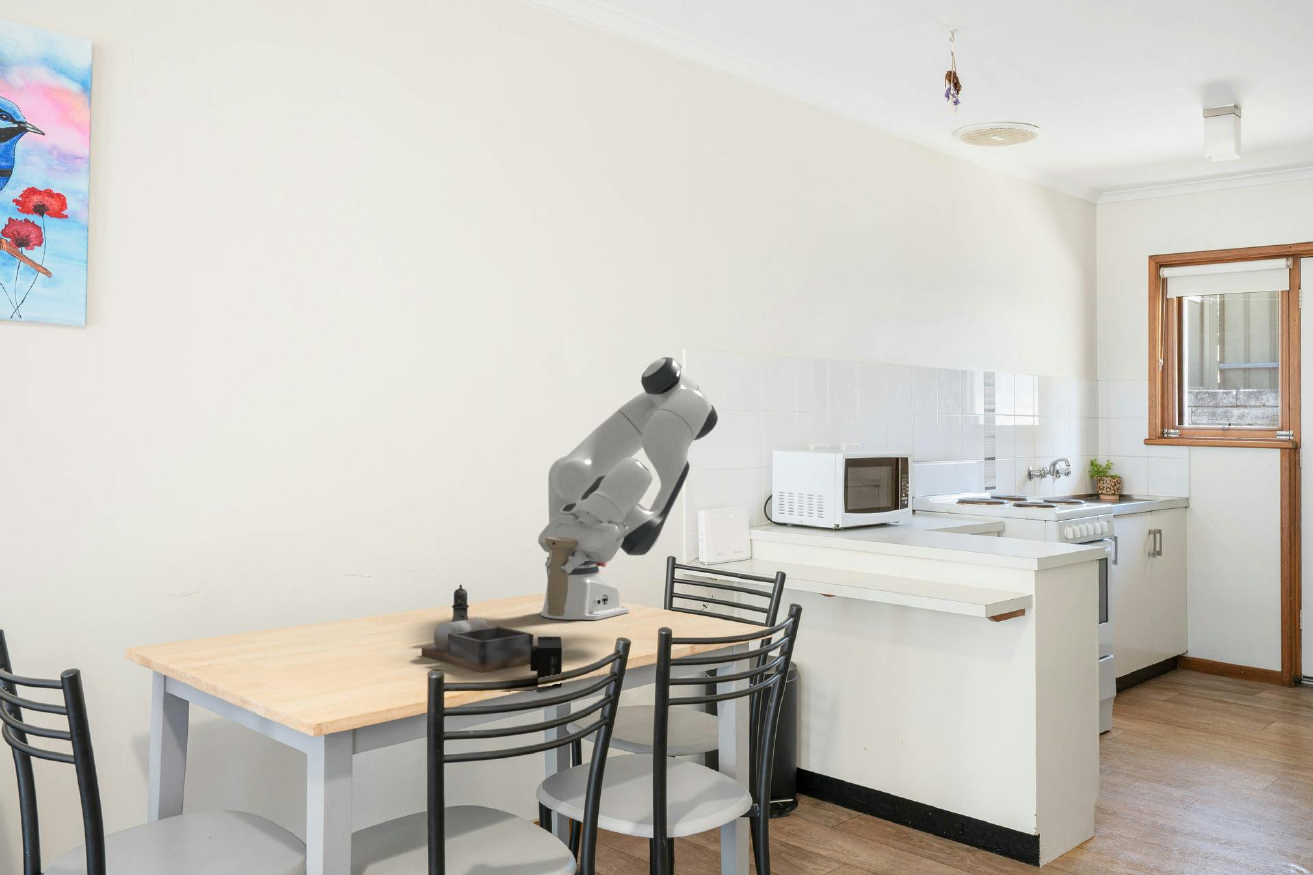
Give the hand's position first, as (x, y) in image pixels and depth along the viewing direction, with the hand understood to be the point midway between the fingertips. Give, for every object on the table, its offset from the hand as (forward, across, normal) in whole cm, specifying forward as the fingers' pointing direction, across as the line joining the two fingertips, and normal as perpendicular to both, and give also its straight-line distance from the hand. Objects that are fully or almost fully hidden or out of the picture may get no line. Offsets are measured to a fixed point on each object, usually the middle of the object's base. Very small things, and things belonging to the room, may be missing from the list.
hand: (556, 569), depth 200 cm
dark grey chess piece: (+16, +26, -11) cm, 33 cm away
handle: (+6, 0, -7) cm, 9 cm away
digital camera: (+21, -13, -4) cm, 25 cm away
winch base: (+21, +9, -5) cm, 23 cm away
